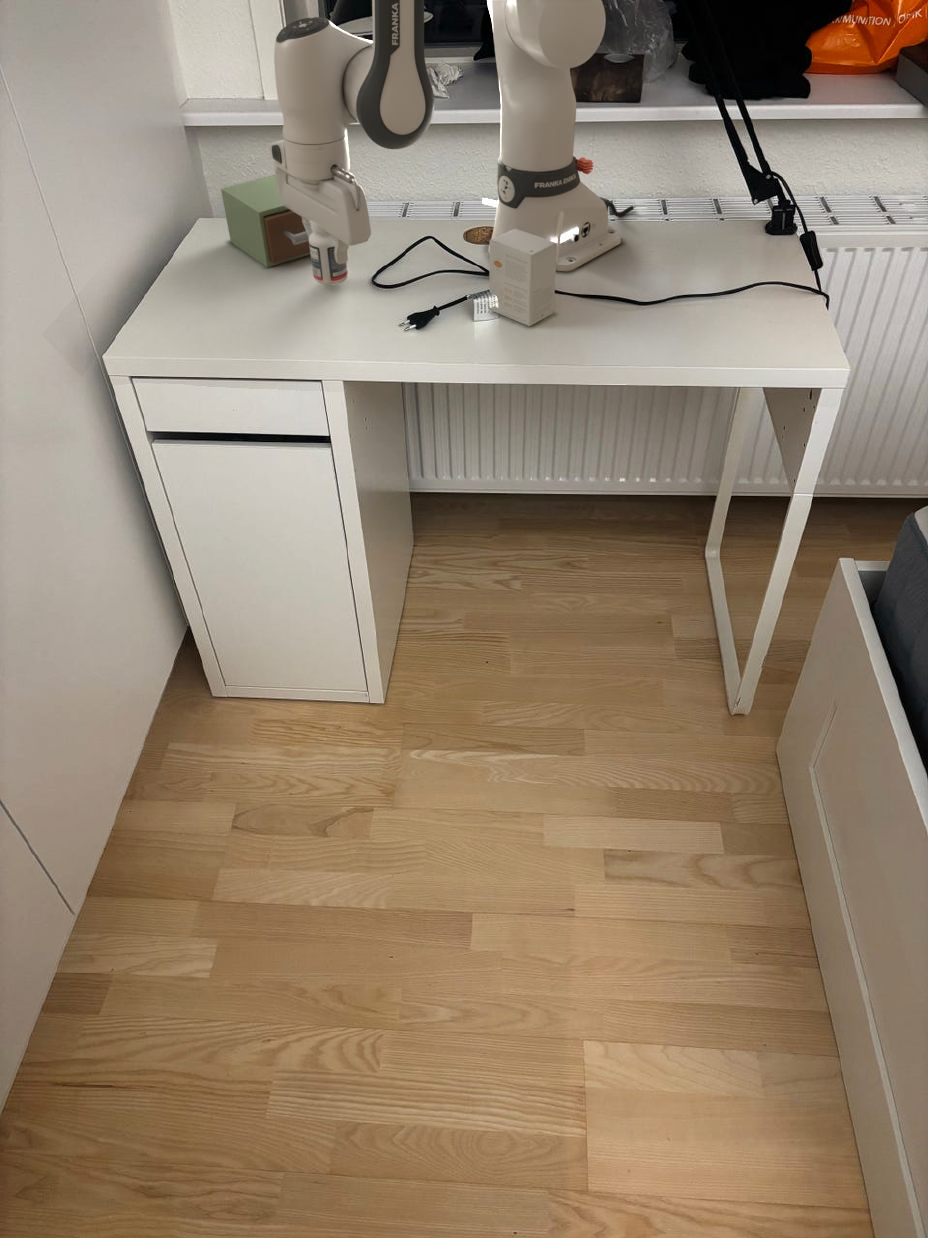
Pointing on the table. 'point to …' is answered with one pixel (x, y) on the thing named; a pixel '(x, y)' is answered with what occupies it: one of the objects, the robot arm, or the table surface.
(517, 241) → the small box
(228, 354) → the table surface
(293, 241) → the drawer
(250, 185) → the cabinet
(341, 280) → the pill bottle
